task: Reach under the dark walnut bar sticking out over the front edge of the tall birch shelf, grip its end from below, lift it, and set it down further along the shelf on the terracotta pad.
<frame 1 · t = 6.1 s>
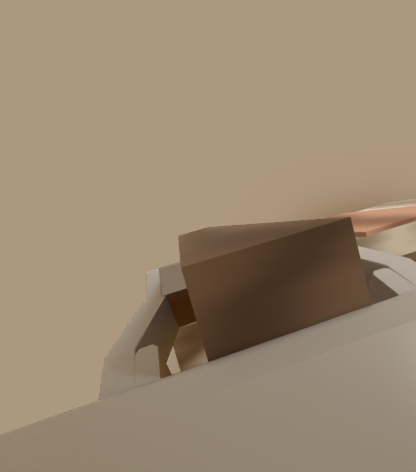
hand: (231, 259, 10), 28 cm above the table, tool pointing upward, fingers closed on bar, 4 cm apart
bar: (216, 271, 17), point 26 cm above the table, touching gripper, shelf
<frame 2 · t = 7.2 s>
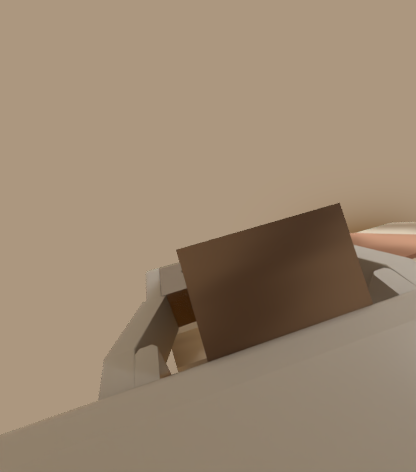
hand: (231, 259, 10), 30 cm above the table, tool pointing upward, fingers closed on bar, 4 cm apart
bar: (220, 286, 17), point 27 cm above the table, tilted 7°, touching gripper
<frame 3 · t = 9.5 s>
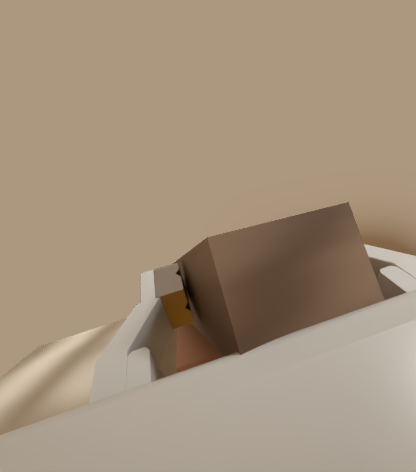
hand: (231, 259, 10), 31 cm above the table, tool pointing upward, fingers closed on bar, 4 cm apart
bar: (205, 301, 17), point 28 cm above the table, tilted 11°, touching gripper
when the fingers open (29 cm above the table, at t = 10.2 s): bar stays where it is, resting on shelf.
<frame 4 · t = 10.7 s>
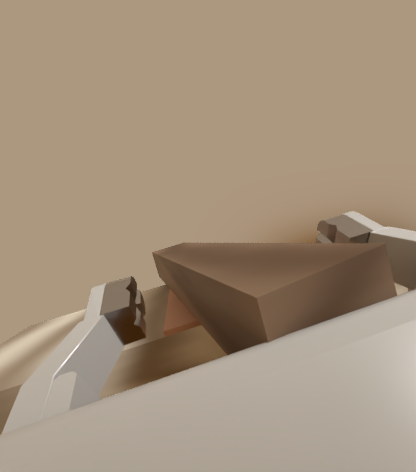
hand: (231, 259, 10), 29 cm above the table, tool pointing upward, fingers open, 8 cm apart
bar: (205, 289, 17), point 26 cm above the table, touching shelf
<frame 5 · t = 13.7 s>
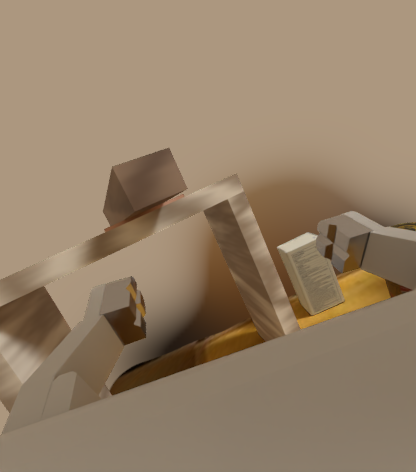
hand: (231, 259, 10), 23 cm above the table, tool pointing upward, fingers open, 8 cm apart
bar: (135, 216, 26), point 26 cm above the table, touching shelf
skincare box: (322, 304, 40), on the table
shelf: (206, 401, 31), on the table
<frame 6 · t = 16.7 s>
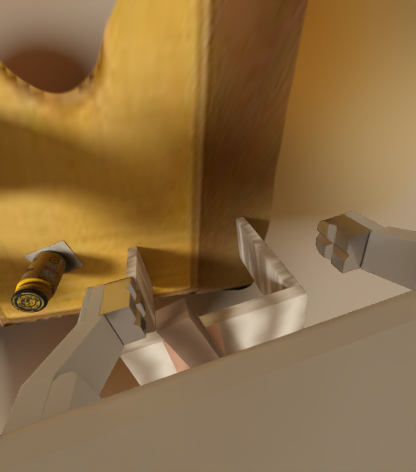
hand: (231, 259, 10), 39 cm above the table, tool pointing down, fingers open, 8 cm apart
condiment: (55, 259, 50), on the table
bar: (205, 350, 35), point 26 cm above the table, touching shelf
skincare box: (102, 291, 57), on the table
shelf: (192, 252, 58), on the table
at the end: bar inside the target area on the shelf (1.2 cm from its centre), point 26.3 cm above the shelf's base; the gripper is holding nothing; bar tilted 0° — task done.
